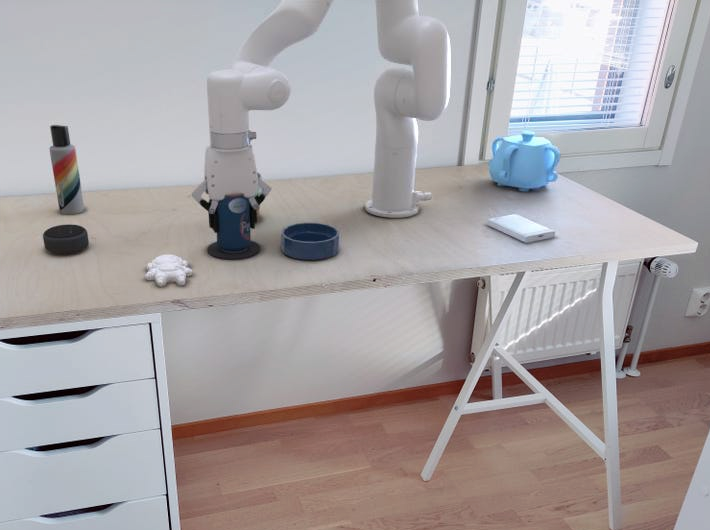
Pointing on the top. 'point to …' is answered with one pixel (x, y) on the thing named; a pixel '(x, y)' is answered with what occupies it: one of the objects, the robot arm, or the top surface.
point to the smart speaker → (65, 239)
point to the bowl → (310, 241)
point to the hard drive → (521, 228)
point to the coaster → (218, 253)
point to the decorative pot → (524, 161)
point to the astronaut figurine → (168, 270)
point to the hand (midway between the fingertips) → (233, 227)
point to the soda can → (233, 224)
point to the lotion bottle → (65, 171)
